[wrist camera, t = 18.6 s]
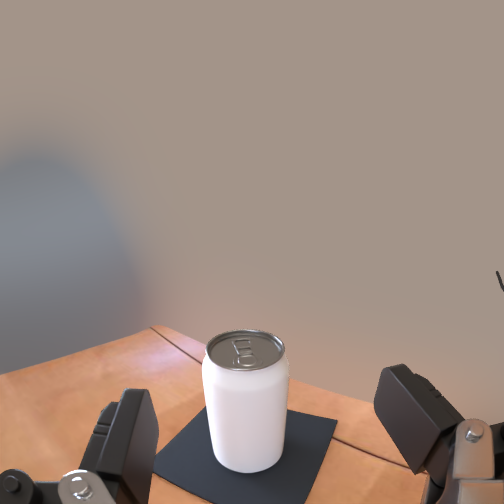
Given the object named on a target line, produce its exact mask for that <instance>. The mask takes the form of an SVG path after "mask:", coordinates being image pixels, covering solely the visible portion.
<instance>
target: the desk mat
mask: <svg viewBox="0 0 504 504" xmlns="http://www.w3.org/2000/svg"><path fill="white" fill-rule="evenodd" d="M336 424H337V420H334V419H329V418H324V417H319V416H314V415H309V414H305V413H300V412H296V411H292V410H288V409H287V414H286V425H285V436H284V445H283V452H282V455H281V457H280V459H279V460H278V461H277V462H276V463H275V464H274V465H273V466H271V467H269V468H267V469H265V470H262V471H259V472H254V473H241V472H237V471H233V470H231V469H228V468H226V467H225V466H223V465H222V464H221V463H220V462H219V461H218V460H217V458H216V456H215V454H214V450H213V445H212V440H211V434H210V427H209V421H208V414H207V407H206V406H205V407H204V408H203V409H202V410H201V411H200V412H199V413H198V414H197V415H196V416H195V417H194V418H193V419H192V421H191V422H190V423H189V424H188V425H186V426H185V427H184V428H183V429H182V430H181V431H180V432H179V433H178V434H177V435H176V436H175V437H174V438H173V439H172V440H171V441H170V442H169V443H168V444H167V445H166V446H165V447H164V448H163V449H162V450H161V451H160V452H159V453H158V454H156V455H155V460H154V466H153V473H155V474H157V475H159V476H160V477H162V478H164V479H166V480H167V481H169V482H171V483H173V484H175V485H177V486H179V487H181V488H182V489H184V490H186V491H188V492H190V493H192V494H194V495H197V496H199V497H201V498H203V499H205V500H207V501H210V502H212V503H214V504H304V503H305V501H306V499H307V496H308V494H309V492H310V490H311V488H312V485H313V483H314V481H315V478H316V476H317V474H318V471H319V469H320V466H321V464H322V461H323V459H324V456H325V454H326V451H327V449H328V446H329V443H330V441H331V438H332V435H333V432H334V429H335V427H336Z"/></svg>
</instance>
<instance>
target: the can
mask: <svg viewBox="0 0 504 504" xmlns="http://www.w3.org/2000/svg"><path fill="white" fill-rule="evenodd" d="M284 352H285V347H284V344H283V342H282V341H281V340H280V339H279V338H278V337H276V336H275V335H273V334H271V333H267V332H264V331H260V330H253V329H242V330H241V329H240V330H232V331H228V332H224V333H222V334H219V335H217V336H215V337H214V338H212V339H211V340H210V341H209V342H208V344H207V346H206V356H205V358H204V361H203V364H202V375H203V384H204V392H205V400H206V407H207V414H208V421H209V427H210V434H211V440H212V445H213V450H214V454H215V456H216V458H217V460H218V461H219V462H220V463H221V464H222V465H223V466H225V467H226V468H228V469H231V470H233V471H237V472H241V473H254V472H259V471H262V470H265V469H267V468H269V467H271V466H273V465H274V464H275V463H276V462H277V461H278V460H279V459H280V457H281V455H282V452H283V445H284V436H285V425H286V414H287V401H288V386H289V362H288V360H287V357H286V355H285V353H284Z"/></svg>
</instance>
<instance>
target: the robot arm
mask: <svg viewBox="0 0 504 504" xmlns="http://www.w3.org/2000/svg"><path fill="white" fill-rule="evenodd" d="M496 274H497V277H498V280H499V283H500V286H501V288H502V290H503V291H504V285H503V283H502V280H501V277H500V275H499V272H498V271H496ZM441 395H442V394H441V393H440V392H439V391H438V390H436V389H435V387H434V386H433V385H432V384H431V383H430V382H429V381H428V380H427V379H426V378H424V377H422V376H420V375H418V374H413V373H412V372H411V370H410V369H409V368H408V367H407V366H406V365H404V364H399V365H395V366H391V367H387V368H384V369H383V370H382V372H381V376H380V379H379V384H378V387H377V391H376V394H375V398H374V410H375V413H376V415H377V417H378V418H379V420H380V421H381V423H382V424H383V426H384V427H385V429H386V431H387V432H388V434H389V435H390V437H391V438H392V440H393V442H394V443H395V445H396V446H397V448H398V449H399V451H400V453H401V454H402V456H403V457H404V459H405V461H406V462H407V464H408V465H409V467H410V468H411V470H412V472H413V473H414V475H416V474H418V473H421V472H423V471H425V470H427V472H428V473H429V474H428V475H427V477H426V480H425V485H424V490H423V494H422V499H421V503H420V504H504V422H502V423H498V424H495V425H490V426H489V425H488V424H487V423H485V422H484V421H482V420H479V419H467V420H465V419H464V418H463V417H462V416H461V414H460V413H459V412H458V411H457V410H456V409H455V408H454V407H453V406H452V405H451V404H450V403H449V402H448V401H447V400H446V399H445V398H444V396H441ZM158 437H159V427H158V421H157V417H156V414H155V411H154V407H153V404H152V400H151V397H150V393H149V391H148V390H147V389H130V388H126V389H124V391H123V394H122V396H121V399H120V401H119V402H111V403H110V404H109V405H107V406H106V407H105V408H104V409H103V410H102V411H101V414H100V416H99V419H98V421H97V425H96V426H95V428H94V431H93V434H92V436H91V438H90V441H89V443H88V446H87V448H86V451H85V453H84V456H83V459H82V461H81V464H80V466H79V469H78V470H76V471H72V472H70V473H68V474H66V475H65V476H64V477H63V478H62V479H61V480H60V481H57V482H45V481H33V480H32V479H31V478H30V477H29V475H28V474H26V473H25V472H24V471H21V470H18V469H9V470H6V471H4V472H3V473H1V474H0V504H148V499H149V492H150V485H151V479H152V472H153V466H154V460H155V454H156V448H157V443H158Z"/></svg>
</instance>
